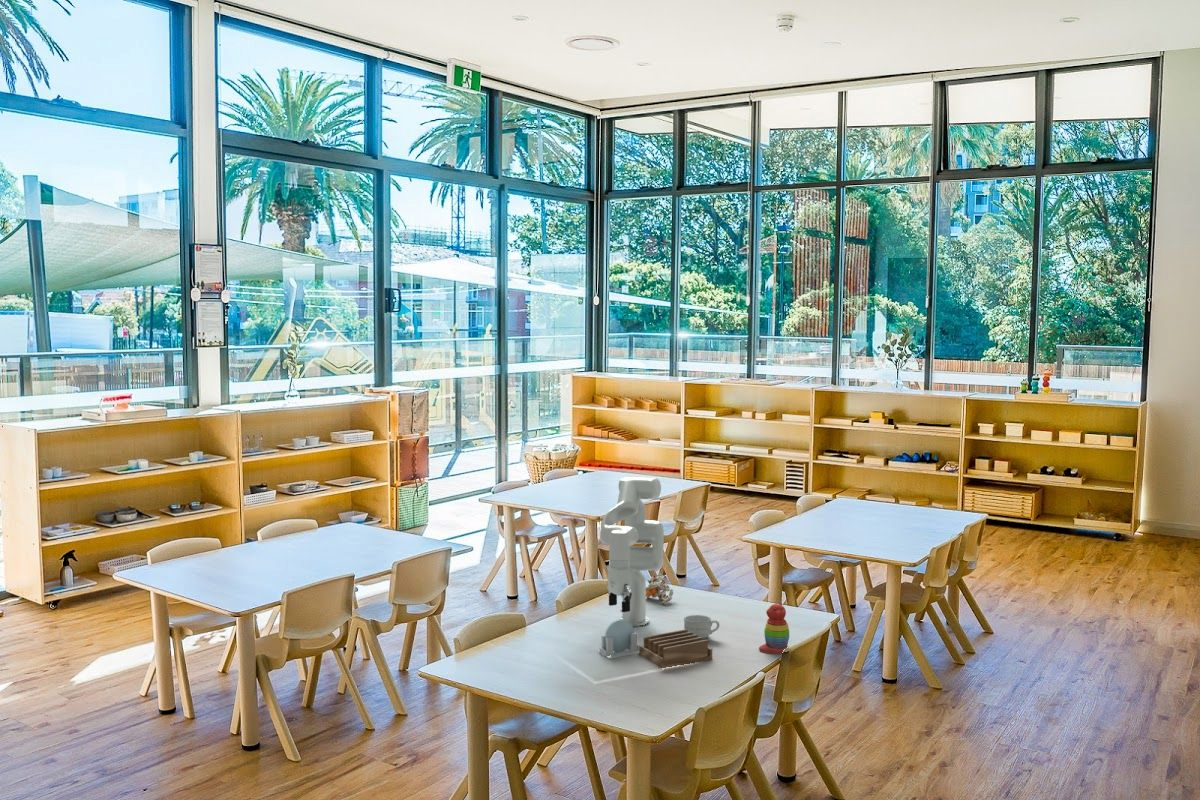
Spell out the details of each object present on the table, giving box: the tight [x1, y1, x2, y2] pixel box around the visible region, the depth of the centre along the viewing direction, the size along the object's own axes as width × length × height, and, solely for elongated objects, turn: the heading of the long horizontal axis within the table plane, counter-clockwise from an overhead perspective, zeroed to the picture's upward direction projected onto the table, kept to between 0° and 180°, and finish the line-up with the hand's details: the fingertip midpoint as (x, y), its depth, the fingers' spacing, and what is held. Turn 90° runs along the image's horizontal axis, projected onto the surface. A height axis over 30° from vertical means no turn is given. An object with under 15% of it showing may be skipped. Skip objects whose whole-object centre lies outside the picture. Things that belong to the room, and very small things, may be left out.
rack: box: [638, 629, 713, 668], centre depth 378 cm, size 16×22×7 cm
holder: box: [598, 632, 641, 659], centre depth 383 cm, size 10×15×8 cm, turn 119°
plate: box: [604, 619, 635, 652], centre depth 382 cm, size 1×12×12 cm, turn 118°
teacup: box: [683, 614, 720, 640], centre depth 400 cm, size 14×11×8 cm
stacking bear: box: [758, 602, 790, 655], centre depth 386 cm, size 11×10×18 cm
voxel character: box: [646, 572, 674, 605], centre depth 449 cm, size 11×10×15 cm
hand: (619, 608), depth 381 cm, fingers open, 9 cm apart
